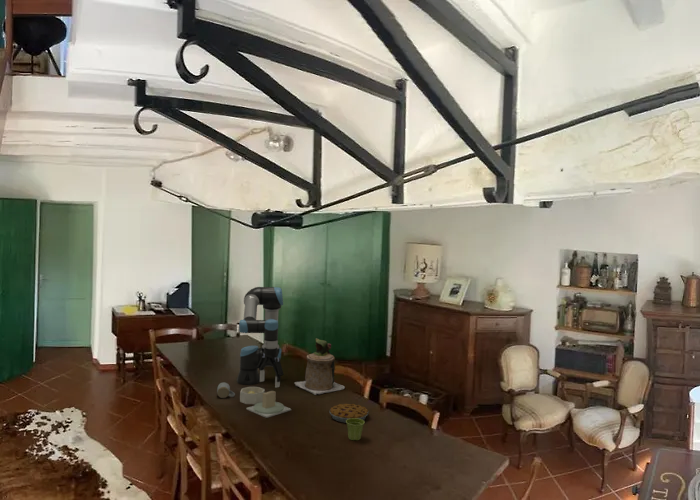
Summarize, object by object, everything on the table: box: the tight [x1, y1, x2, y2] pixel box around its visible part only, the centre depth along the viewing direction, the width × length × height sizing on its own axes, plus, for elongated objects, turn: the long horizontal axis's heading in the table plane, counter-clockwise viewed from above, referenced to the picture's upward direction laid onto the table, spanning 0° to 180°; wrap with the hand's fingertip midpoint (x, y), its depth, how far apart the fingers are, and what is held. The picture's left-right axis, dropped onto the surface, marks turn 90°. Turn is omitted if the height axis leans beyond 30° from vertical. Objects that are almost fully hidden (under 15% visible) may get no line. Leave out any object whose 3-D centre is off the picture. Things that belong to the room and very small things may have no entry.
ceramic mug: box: [216, 382, 236, 399], centre depth 330 cm, size 11×8×8 cm
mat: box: [246, 405, 292, 419], centre depth 310 cm, size 18×18×1 cm
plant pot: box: [346, 418, 366, 441], centre depth 275 cm, size 9×9×9 cm
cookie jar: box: [294, 338, 345, 396], centre depth 354 cm, size 25×25×32 cm
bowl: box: [239, 386, 266, 405], centre depth 325 cm, size 14×14×6 cm
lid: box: [253, 390, 285, 414], centre depth 310 cm, size 17×17×9 cm
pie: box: [329, 403, 369, 424], centre depth 304 cm, size 22×22×5 cm
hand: (269, 384), depth 310 cm, fingers open, 13 cm apart
